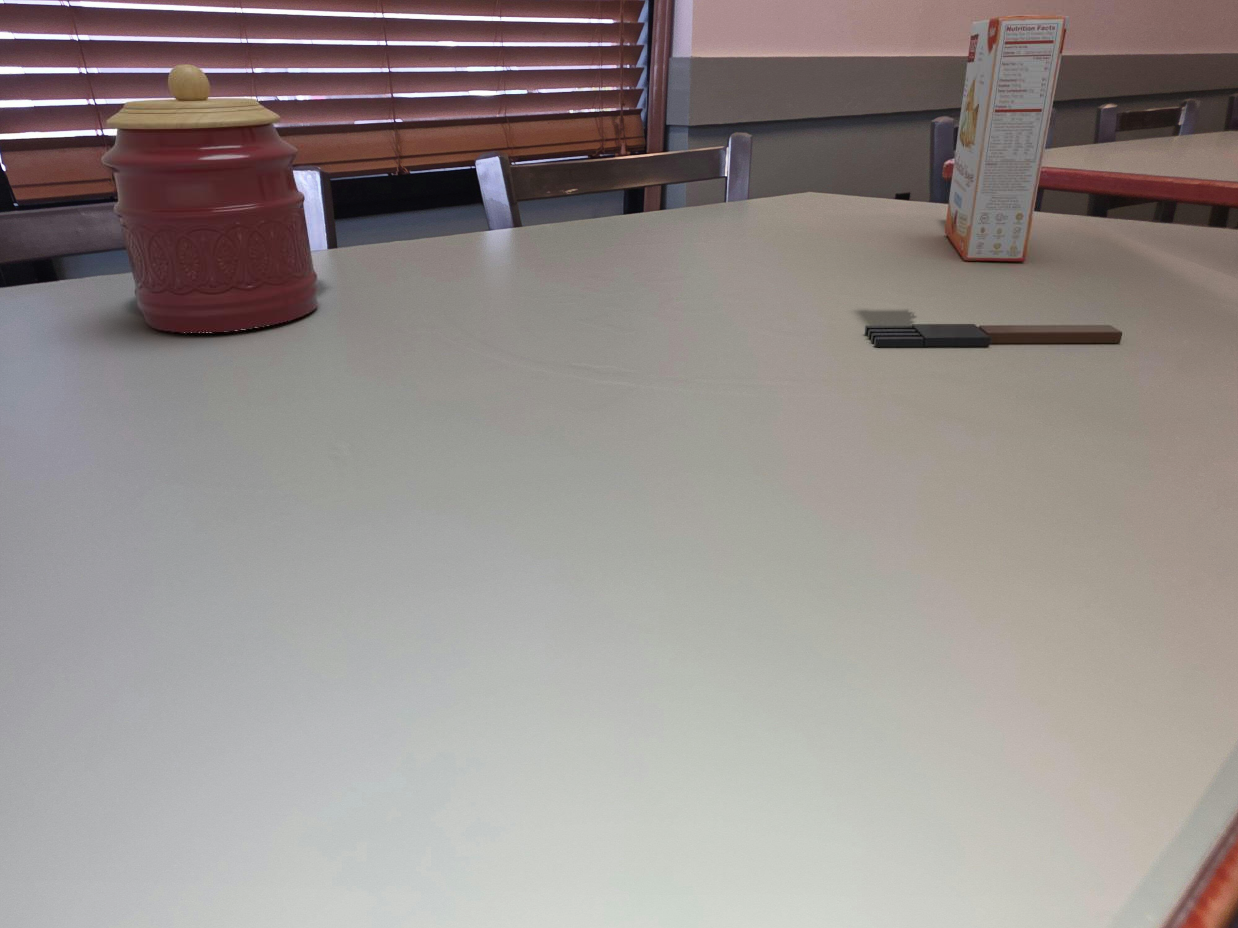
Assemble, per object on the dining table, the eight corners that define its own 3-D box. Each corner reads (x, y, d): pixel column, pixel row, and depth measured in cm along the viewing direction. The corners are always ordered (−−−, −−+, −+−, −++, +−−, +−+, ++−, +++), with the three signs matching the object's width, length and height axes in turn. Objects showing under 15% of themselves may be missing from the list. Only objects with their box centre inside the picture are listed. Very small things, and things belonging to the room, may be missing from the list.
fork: (1102, 333, 61) (1105, 321, 60) (1125, 346, 58) (1128, 335, 57) (864, 333, 61) (865, 322, 61) (875, 347, 58) (876, 335, 58)
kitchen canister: (263, 342, 61) (210, 64, 53) (101, 333, 63) (29, 66, 56) (351, 296, 72) (318, 63, 65) (212, 290, 75) (164, 64, 67)
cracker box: (940, 235, 95) (970, 19, 86) (998, 236, 93) (1036, 18, 85) (958, 261, 82) (996, 13, 73) (1026, 264, 81) (1073, 11, 72)
